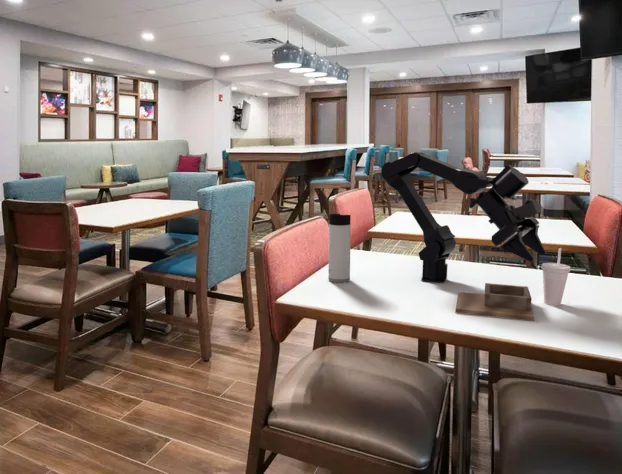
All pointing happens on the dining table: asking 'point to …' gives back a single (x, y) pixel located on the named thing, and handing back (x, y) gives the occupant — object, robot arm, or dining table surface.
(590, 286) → the dining table surface
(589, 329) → the dining table surface
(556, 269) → the smoothie
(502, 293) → the holder
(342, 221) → the travel mug
